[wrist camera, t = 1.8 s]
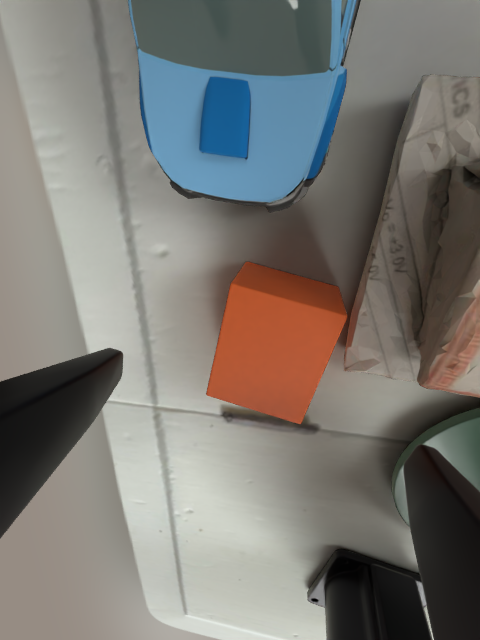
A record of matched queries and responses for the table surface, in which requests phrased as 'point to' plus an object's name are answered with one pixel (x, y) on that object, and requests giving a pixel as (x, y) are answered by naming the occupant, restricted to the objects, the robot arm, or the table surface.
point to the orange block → (275, 341)
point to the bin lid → (445, 452)
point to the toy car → (242, 93)
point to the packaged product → (426, 249)
